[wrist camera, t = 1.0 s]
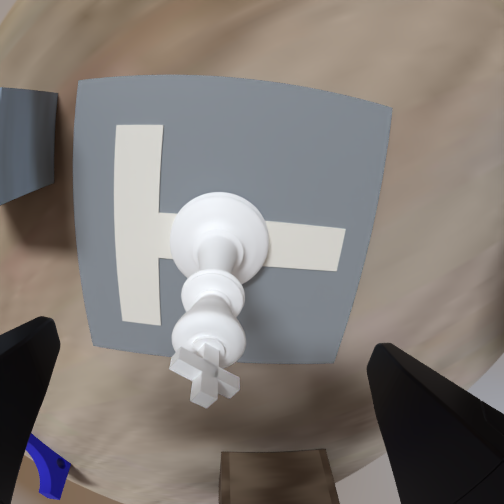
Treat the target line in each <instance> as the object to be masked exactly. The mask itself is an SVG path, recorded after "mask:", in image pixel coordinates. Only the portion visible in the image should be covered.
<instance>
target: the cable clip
mask: <svg viewBox="0 0 504 504" xmlns="http://www.w3.org/2000/svg"><path fill="white" fill-rule="evenodd" d="M26 450H27V452H28V453H29V454H30V455H31V457H32V458H33V460H34V462H35V464H36V466H37V468H38V471H39V476H40V489H39V493H41V494H42V495H44V496H45V497H47V498H50V499H57V500H60V498H61V494H62V491H63V488H64V484H65V481H66V478H67V475H68V472H69V469H70V466H71V463H69V462H68V461H66V460H65V459H64V458H62V457H61V456H59V455H58V454H57V453H55V452H54V451H53V450H51V449H50V448H49V447H48V446H46V445H45V444H44V443H43V442H41V441H40V440H39V439H38V438H36V437H35V436H34V435H33V434H32V433H31V434H30V437H29V440H28V443H27V446H26Z"/></svg>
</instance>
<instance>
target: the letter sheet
mask: <svg viewBox="0 0 504 504" xmlns="http://www.w3.org/2000/svg"><path fill="white" fill-rule="evenodd" d="M391 117H392V108H391V107H388V106H384V105H381V104H377V103H374V102H370V101H366V100H362V99H359V98H355V97H350V96H346V95H342V94H338V93H333V92H328V91H323V90H318V89H313V88H308V87H302V86H296V85H290V84H284V83H277V82H270V81H262V80H253V79H244V78H233V77H219V76H201V75H137V76H119V77H106V78H96V79H87V80H79V82H78V90H77V99H76V110H75V123H74V143H73V198H74V218H75V232H76V243H77V253H78V262H79V270H80V277H81V284H82V290H83V297H84V302H85V308H86V313H87V319H88V324H89V328H90V333H91V338H92V342H93V346H98V347H104V348H109V349H116V350H122V351H129V352H135V353H143V354H150V355H158V356H167V357H172V356H173V355H174V354H175V353H176V352H175V350H174V348H173V345H172V332H173V329H174V326H175V325H176V323H177V322H178V320H179V319H180V318H181V317H182V316H183V315H184V314H185V313H186V311H185V309H184V306H183V303H182V299H181V292H182V287H183V285H184V283H185V281H186V280H187V279H188V278H187V277H186V276H184V275H183V274H182V272H181V271H180V270H179V269H178V267H177V266H176V264H175V262H174V260H173V258H172V255H171V251H170V233H171V228H172V224H173V221H174V219H175V217H176V215H177V214H178V212H179V211H180V210H181V209H182V208H183V206H184V205H186V204H187V203H188V202H189V201H191V200H192V199H194V198H196V197H198V196H200V195H203V194H207V193H212V192H226V193H231V194H235V195H238V196H240V197H242V198H244V199H246V200H247V201H249V202H250V203H252V204H253V205H254V206H255V207H256V208H257V209H258V210H259V212H260V213H261V215H262V216H263V218H264V220H265V222H266V225H267V228H268V233H269V246H268V253H267V257H266V259H265V262H264V264H263V266H262V267H261V269H260V270H259V271H258V272H257V274H256V275H255V276H254V277H252V278H251V279H250V280H248V281H247V282H245V283H243V284H242V286H243V289H244V292H245V303H244V306H243V308H242V310H241V312H240V314H239V315H238V316H237V317H236V318H237V319H238V321H239V322H240V324H241V326H242V328H243V330H244V332H245V336H246V348H245V351H244V353H243V355H242V356H241V358H240V359H239V360H238V361H237V362H242V363H269V364H326V363H334V361H335V358H336V355H337V352H338V349H339V346H340V343H341V340H342V337H343V334H344V331H345V328H346V325H347V322H348V318H349V315H350V312H351V308H352V305H353V302H354V298H355V295H356V291H357V288H358V284H359V280H360V277H361V273H362V269H363V265H364V262H365V258H366V254H367V249H368V245H369V241H370V237H371V232H372V228H373V223H374V219H375V214H376V209H377V204H378V199H379V194H380V189H381V184H382V178H383V172H384V166H385V160H386V154H387V147H388V140H389V133H390V125H391Z"/></svg>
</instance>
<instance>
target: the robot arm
mask: <svg viewBox="0 0 504 504" xmlns="http://www.w3.org/2000/svg"><path fill="white" fill-rule="evenodd" d="M59 350H60V340H59V336H58V333H57V329H56V325H55V322H54V320H53V319H52V318H48V317H44V316H40V317H37V318H35V319H33V320H31V321H29V322H27V323H25V324H22V325H20V326H18V327H16V328H14V329H12V330H10V331H8V332H6V333H4V334H2V335H0V504H11V500H12V496H13V492H14V488H15V483H16V480H17V476H18V472H19V469H20V466H21V462H22V458H23V456H24V453H25V449H26V446H27V443H28V440H29V437H30V434H31V432H32V429H33V426H34V423H35V420H36V418H37V415H38V412H39V410H40V407H41V405H42V402H43V400H44V397H45V394H46V392H47V388H48V385H49V382H50V379H51V375H52V372H53V369H54V366H55V363H56V359H57V356H58V353H59ZM367 376H368V380H369V385H370V389H371V394H372V399H373V404H374V409H375V413H376V417H377V421H378V424H379V427H380V431H381V434H382V437H383V440H384V444H385V447H386V450H387V454H388V457H389V461H390V464H391V468H392V471H393V475H394V478H395V482H396V486H397V490H398V493H399V497H400V501H401V504H504V414H503V413H501V412H499V411H498V410H496V409H494V408H492V407H491V406H489V405H488V404H486V403H485V402H483V401H481V400H480V399H478V398H477V397H475V396H473V395H472V394H470V393H469V392H467V391H466V390H464V389H462V388H461V387H459V386H458V385H456V384H455V383H453V382H451V381H450V380H448V379H447V378H445V377H444V376H442V375H440V374H439V373H437V372H436V371H434V370H432V369H431V368H429V367H428V366H426V365H425V364H423V363H421V362H420V361H418V360H417V359H415V358H414V357H412V356H410V355H409V354H407V353H406V352H404V351H403V350H401V349H399V348H398V347H396V346H395V345H393V344H391V343H379V344H377V345H376V346H375V348H374V350H373V353H372V355H371V358H370V360H369V362H368V365H367Z"/></svg>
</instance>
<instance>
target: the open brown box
mask: <svg viewBox="0 0 504 504" xmlns="http://www.w3.org/2000/svg"><path fill="white" fill-rule="evenodd" d="M219 504H340V503H339V499H338V495H337V491H336V487H335V483H334V479H333V475H332V471H331V468H330V464H329V460H328V456H327V452H326V449H319V450H307V451H292V452H262V453H247V452H221V465H220V478H219Z"/></svg>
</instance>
